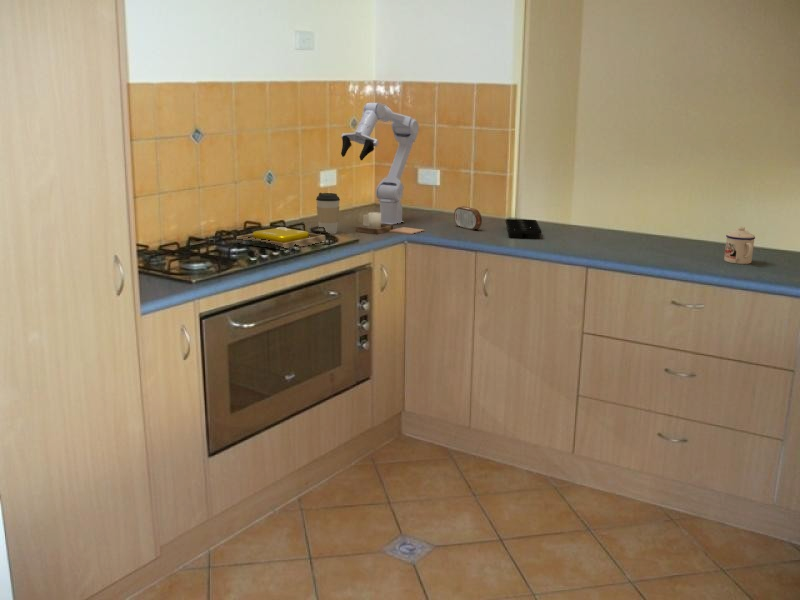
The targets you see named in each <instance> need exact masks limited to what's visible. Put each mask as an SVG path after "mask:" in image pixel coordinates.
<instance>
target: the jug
mask: <svg viewBox="0 0 800 600" xmlns="http://www.w3.org/2000/svg"><path fill="white" fill-rule="evenodd" d="M362 216H363V218H362V225H363V226H364V227H365V226H366V227H367V228H374V229H377V228H381V213H380V211H379V212H378V211H372V212H371V211H370V212H369V211H368V214H363V215H362Z"/></svg>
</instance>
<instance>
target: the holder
mask: <svg viewBox="0 0 800 600" xmlns="http://www.w3.org/2000/svg"><path fill="white" fill-rule="evenodd" d="M393 229H394V226H393V225H388V224H381V228H377V229H374V228H368V227H367V226H366V227H365V226H364V227H363V226H356V232H357V233H358V232H359V233H364V234H372V235H377V234H382V233H383V234H384V233H387V232H388V233H389V230H393Z"/></svg>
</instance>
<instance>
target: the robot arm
mask: <svg viewBox="0 0 800 600" xmlns="http://www.w3.org/2000/svg"><path fill="white" fill-rule="evenodd" d="M362 109H363V110H362V114H361V119H360V121H359V123H358V125H357V127H356V129H355V131H354V132H347V133H345V132H343V133H342V134H341V139H342V145H341V146H342V147H341V151H340V155H341V156H342V158H344V157H345V156H346V154H347V152H348V150H349V149H350V148H351V147H352V142H355V143H357V144H360V145H363V147H362V149H361V152H360V154H359V156H358V157H359V159H360V161H363V160H364V159H365V158H366V157H367V156H368V155H369V154H370V153H372V152H373V151H375V147H376V148H377V147H378V145H379V140H378V139H377V138H374V137H371V135H372V133H373V130H374V129H375V127H376V124H377V123H378V121H382V122H387V123H388V122H389V121H390V122H391V129H392V133H393V136H394V138H395V141H396V142H397V143H398V147H397V150H396V153H395V155H394V157H393V161H392V164H391V166H390V169H389V172H388V174H387V176H386V177H385V178H383V179H381V180H380V182H379V183H378V185H377V186H376V189H375V196H376V198H377V199H378V202H379V212H380V213H381V224H382V225H390V226H393V225H398V224H402V223H401V222H403V223H404V222H405V221H403V205H402V203H401V202H400V201H401V200H402V198H403V195H404V194H403V193H404V188H405V187H404V184H403V182H401V179H402V175H403V174H404V169H405V167H406V165H407V161H408V159H409V156H410V153H411V150H412V147H413V144H414V143H415V142H416V139H417V136H418V133H419V131H420V127H419V123H418V122H419V121H417V119H415V118H413V117H412V116H409V115H405V114H401V113H397V112H395V111H394V112H393V111H392V109H391V108H390V107H388V105H387V104H384V103H383V102H367V103H366V104H364V105H363V108H362ZM397 223H398V224H397Z"/></svg>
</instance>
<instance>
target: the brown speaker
mask: <svg viewBox="0 0 800 600" xmlns="http://www.w3.org/2000/svg"><path fill="white" fill-rule="evenodd" d="M453 213H454V214H453V215H454V216H453V218H454V223H455V224H456V226H457V227H459V226H460V227H459V228H461V227H463V229H465V228H467V230H469V229H471V230H470V231H474V230H475V229H477V230H479V229H480V228H481V226H482V223H483V221H482V220H483V219H482V214H481V213H480V210H478V209H476V208H473V207H470V206H469V207H468V206H464V205H462V206H459V207H457V208H455V210H454V212H453ZM475 231H476V230H475Z"/></svg>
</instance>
